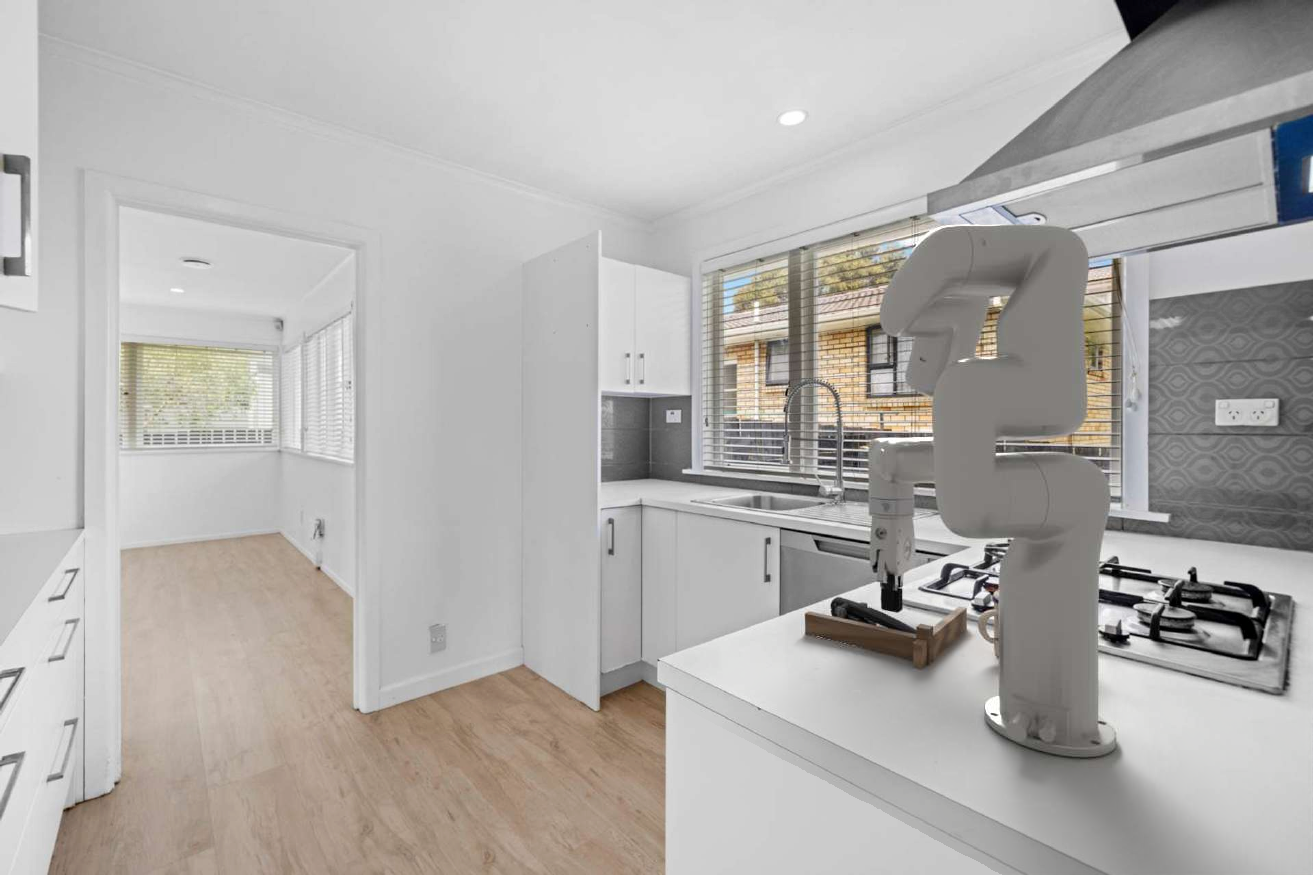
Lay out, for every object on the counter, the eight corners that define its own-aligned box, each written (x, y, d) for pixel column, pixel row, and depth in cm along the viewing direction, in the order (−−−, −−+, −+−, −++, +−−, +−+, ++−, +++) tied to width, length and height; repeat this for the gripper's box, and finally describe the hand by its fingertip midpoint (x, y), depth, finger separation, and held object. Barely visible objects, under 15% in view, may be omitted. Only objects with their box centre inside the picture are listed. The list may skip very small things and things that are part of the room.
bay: (924, 669, 85) (924, 633, 85) (798, 637, 99) (798, 606, 99) (968, 628, 102) (968, 598, 101) (855, 606, 115) (855, 579, 115)
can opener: (820, 627, 104) (820, 595, 104) (849, 621, 107) (849, 589, 107) (905, 663, 88) (905, 625, 88) (937, 654, 92) (936, 617, 91)
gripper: (897, 514, 98) (898, 626, 99) (927, 504, 109) (927, 604, 110) (853, 510, 103) (853, 616, 104) (885, 501, 114) (886, 596, 115)
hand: (891, 610), depth 107 cm, fingers closed
